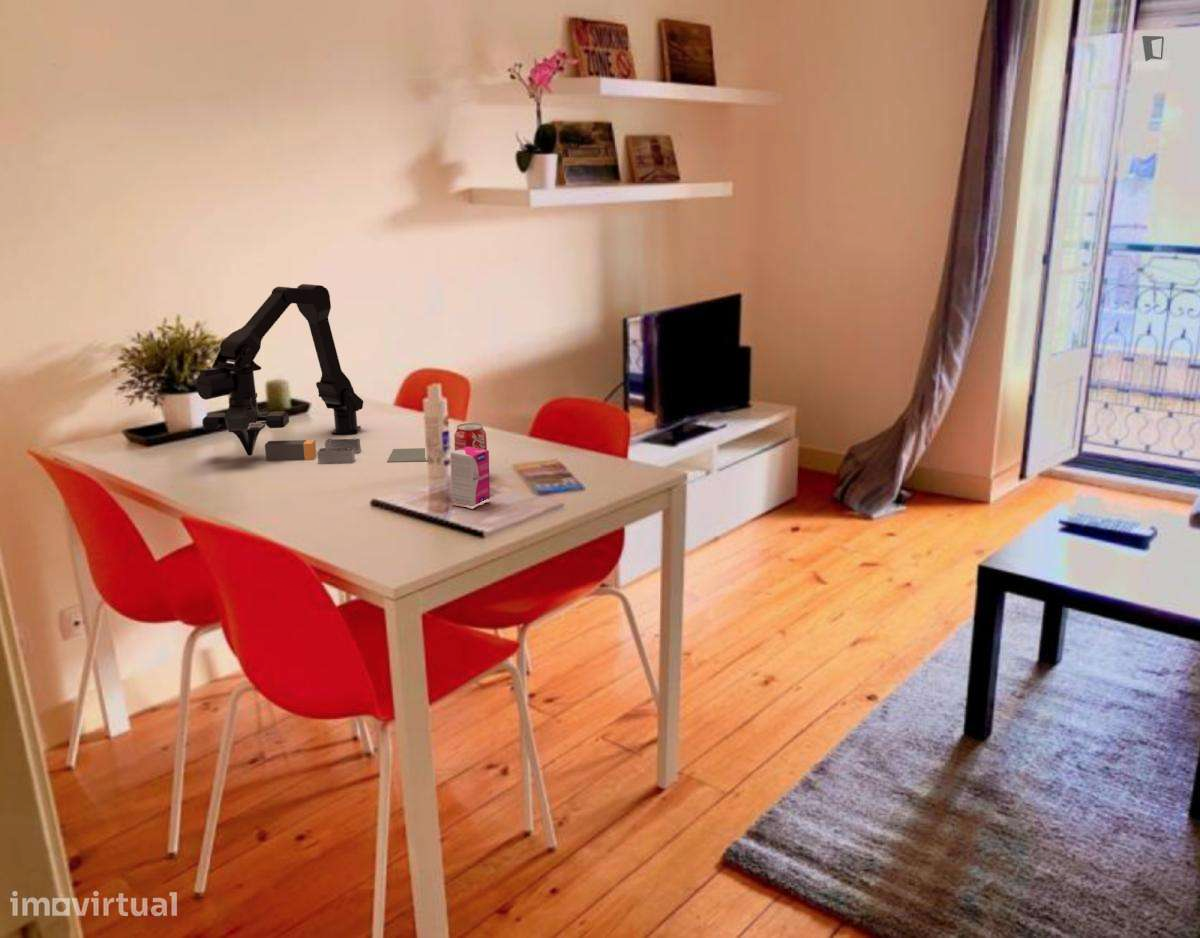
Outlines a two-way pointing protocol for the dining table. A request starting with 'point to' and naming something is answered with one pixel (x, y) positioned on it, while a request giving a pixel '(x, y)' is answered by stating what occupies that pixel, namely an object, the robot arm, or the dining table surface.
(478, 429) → the soda can
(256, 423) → the robot arm
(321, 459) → the housing
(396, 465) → the dining table surface
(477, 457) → the supplement box
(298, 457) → the grey orange block
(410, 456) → the mat
